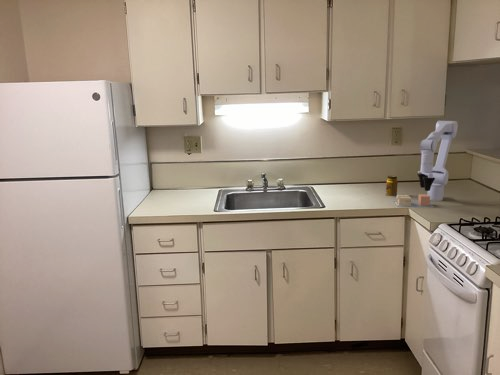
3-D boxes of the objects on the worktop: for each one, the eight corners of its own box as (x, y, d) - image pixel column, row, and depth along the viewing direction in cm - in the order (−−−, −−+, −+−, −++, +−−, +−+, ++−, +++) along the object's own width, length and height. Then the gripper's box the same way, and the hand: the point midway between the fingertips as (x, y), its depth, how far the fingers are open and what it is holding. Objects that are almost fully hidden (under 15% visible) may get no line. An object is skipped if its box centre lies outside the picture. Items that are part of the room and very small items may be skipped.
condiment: (382, 196, 244) (383, 175, 241) (393, 194, 248) (394, 174, 245) (391, 198, 238) (393, 177, 235) (402, 197, 241) (404, 176, 239)
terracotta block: (417, 203, 222) (418, 194, 221) (426, 203, 222) (427, 194, 221) (420, 205, 218) (421, 196, 217) (429, 205, 217) (430, 196, 216)
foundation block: (396, 202, 225) (396, 195, 224) (407, 202, 225) (408, 195, 224) (398, 205, 219) (399, 197, 219) (410, 205, 219) (411, 198, 218)
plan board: (392, 202, 228) (393, 200, 228) (427, 203, 226) (427, 201, 226) (398, 208, 217) (398, 206, 217) (434, 209, 215) (434, 207, 215)
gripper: (414, 160, 223) (413, 186, 226) (423, 165, 209) (421, 192, 211) (428, 160, 222) (426, 186, 225) (437, 165, 208) (435, 192, 211)
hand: (425, 189), depth 218 cm, fingers open, 7 cm apart
